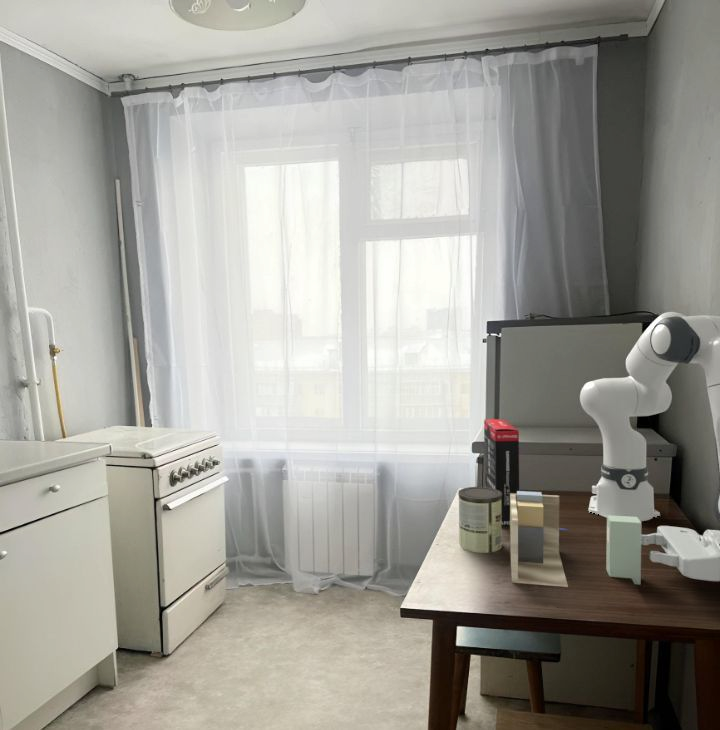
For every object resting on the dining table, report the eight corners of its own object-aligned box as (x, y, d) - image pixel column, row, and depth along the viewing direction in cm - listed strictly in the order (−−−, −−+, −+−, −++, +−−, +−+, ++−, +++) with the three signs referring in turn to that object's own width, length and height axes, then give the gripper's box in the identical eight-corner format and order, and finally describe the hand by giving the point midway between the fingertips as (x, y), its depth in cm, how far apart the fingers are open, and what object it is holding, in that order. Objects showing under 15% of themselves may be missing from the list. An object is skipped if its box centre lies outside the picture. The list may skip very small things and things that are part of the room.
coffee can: (460, 540, 148) (460, 485, 147) (502, 543, 145) (502, 487, 144) (456, 555, 138) (456, 496, 137) (501, 559, 135) (501, 499, 134)
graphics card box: (521, 531, 154) (521, 428, 152) (494, 531, 154) (494, 428, 153) (506, 510, 171) (506, 418, 170) (482, 511, 171) (482, 418, 170)
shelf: (509, 551, 140) (510, 493, 139) (558, 555, 137) (558, 495, 137) (511, 587, 121) (511, 520, 120) (568, 592, 118) (568, 523, 117)
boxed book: (605, 574, 127) (606, 515, 126) (636, 576, 125) (637, 516, 124) (609, 582, 123) (610, 521, 122) (640, 584, 121) (641, 523, 121)
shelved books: (516, 549, 138) (516, 490, 137) (540, 551, 137) (541, 492, 136) (517, 560, 132) (517, 499, 131) (543, 562, 130) (543, 500, 130)
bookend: (517, 554, 135) (517, 520, 135) (541, 555, 134) (542, 521, 134) (517, 561, 131) (517, 526, 130) (543, 563, 130) (543, 528, 129)
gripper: (701, 520, 129) (633, 517, 133) (738, 556, 110) (657, 550, 113) (700, 548, 130) (633, 544, 133) (737, 589, 110) (657, 582, 113)
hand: (644, 547), depth 123 cm, fingers open, 8 cm apart
